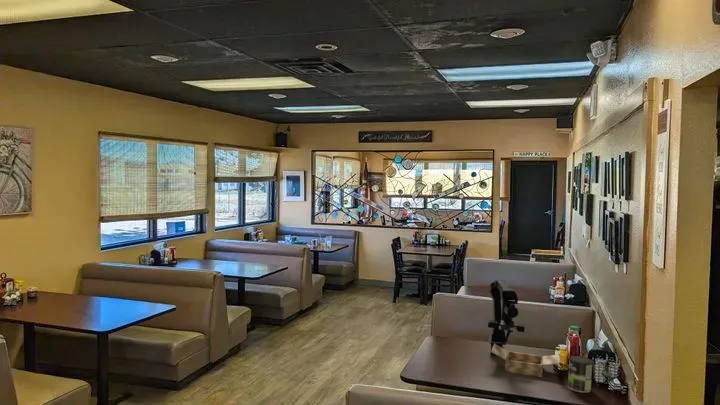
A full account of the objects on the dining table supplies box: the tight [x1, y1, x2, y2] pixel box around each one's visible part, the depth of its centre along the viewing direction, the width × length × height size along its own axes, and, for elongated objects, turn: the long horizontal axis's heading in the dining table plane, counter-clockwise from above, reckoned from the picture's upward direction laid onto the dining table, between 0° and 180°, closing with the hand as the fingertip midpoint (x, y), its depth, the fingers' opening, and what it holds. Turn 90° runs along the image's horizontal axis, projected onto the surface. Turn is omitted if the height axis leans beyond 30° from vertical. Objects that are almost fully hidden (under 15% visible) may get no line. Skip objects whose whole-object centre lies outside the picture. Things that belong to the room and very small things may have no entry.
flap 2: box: [542, 354, 561, 366], centre depth 272 cm, size 8×15×1 cm, turn 160°
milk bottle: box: [565, 325, 582, 353], centre depth 291 cm, size 8×8×20 cm
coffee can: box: [567, 356, 594, 394], centre depth 252 cm, size 10×10×14 cm
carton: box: [504, 350, 544, 378], centre depth 277 cm, size 18×16×6 cm
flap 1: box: [490, 344, 509, 360], centre depth 281 cm, size 8×15×1 cm, turn 159°
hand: (505, 342), depth 282 cm, fingers closed
